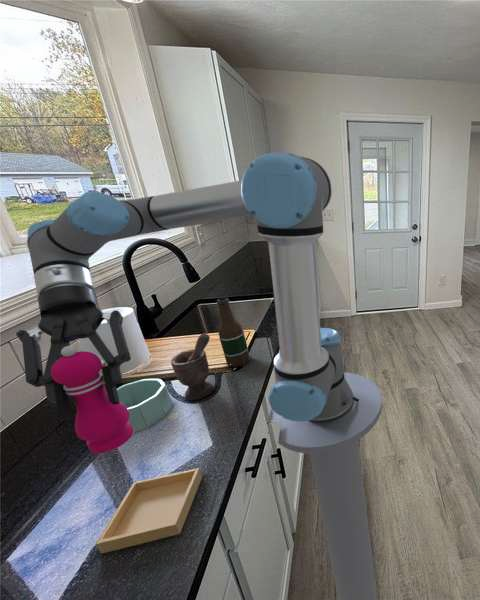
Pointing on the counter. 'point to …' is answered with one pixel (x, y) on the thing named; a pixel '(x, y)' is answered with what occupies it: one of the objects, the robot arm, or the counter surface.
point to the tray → (151, 510)
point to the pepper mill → (92, 401)
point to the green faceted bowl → (145, 402)
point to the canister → (132, 337)
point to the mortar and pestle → (193, 369)
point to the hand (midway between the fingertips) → (91, 410)
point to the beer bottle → (232, 336)
